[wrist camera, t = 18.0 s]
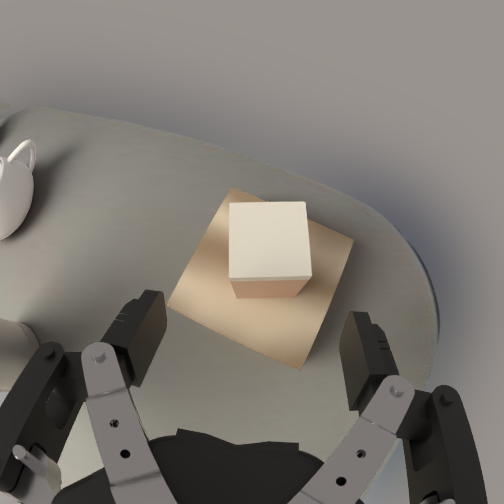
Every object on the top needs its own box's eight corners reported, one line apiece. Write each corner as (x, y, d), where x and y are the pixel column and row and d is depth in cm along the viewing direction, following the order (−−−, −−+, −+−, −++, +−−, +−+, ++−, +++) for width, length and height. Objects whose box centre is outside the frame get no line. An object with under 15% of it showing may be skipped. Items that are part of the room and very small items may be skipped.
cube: (294, 297, 25) (312, 275, 17) (236, 298, 25) (228, 277, 17) (291, 242, 26) (305, 201, 19) (236, 243, 27) (229, 203, 19)
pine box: (292, 365, 29) (300, 370, 23) (182, 312, 31) (166, 305, 25) (338, 258, 32) (354, 239, 27) (235, 213, 34) (231, 187, 28)
